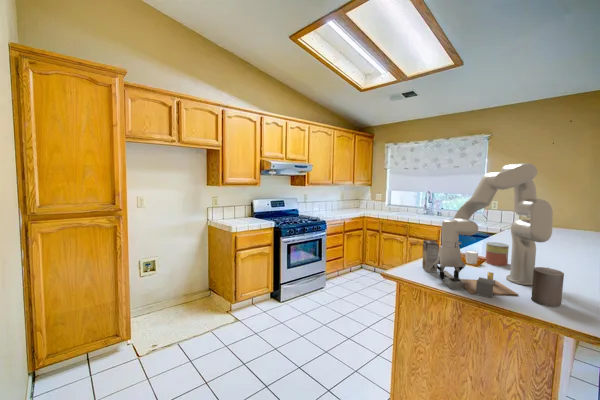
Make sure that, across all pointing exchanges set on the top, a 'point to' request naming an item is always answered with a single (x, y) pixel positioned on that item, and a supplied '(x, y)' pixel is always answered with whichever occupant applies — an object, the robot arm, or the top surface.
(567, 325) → the top surface
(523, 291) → the top surface
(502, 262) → the canned food
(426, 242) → the coffee box
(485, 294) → the block
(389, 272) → the top surface
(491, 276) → the pintle
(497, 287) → the board
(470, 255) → the white cup
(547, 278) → the pillar candle
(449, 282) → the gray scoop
